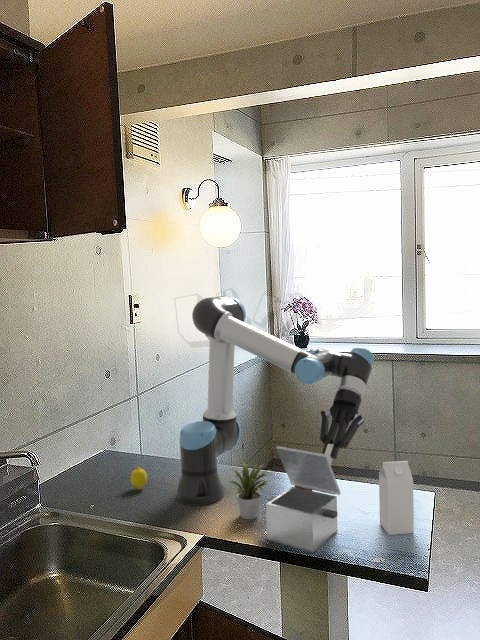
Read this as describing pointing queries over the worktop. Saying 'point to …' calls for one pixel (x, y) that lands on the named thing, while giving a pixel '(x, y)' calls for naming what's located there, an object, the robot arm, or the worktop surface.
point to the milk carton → (396, 498)
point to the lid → (308, 470)
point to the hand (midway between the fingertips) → (324, 467)
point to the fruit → (138, 478)
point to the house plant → (249, 491)
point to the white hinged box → (301, 518)
